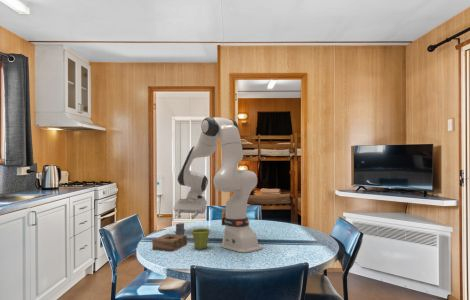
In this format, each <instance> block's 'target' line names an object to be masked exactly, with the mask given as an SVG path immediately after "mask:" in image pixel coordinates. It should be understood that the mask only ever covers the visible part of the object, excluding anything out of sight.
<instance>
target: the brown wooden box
mask: <svg viewBox="0 0 470 300" xmlns="http://www.w3.org/2000/svg"><path fill="white" fill-rule="evenodd" d="M186 245H188V236H187V235H186V234H184V235H176V233H166V234H164V235H161V236H159V237H156V238H154V239H152V248H151V249H152V250H156V251H165V252H175V251H177V250H179V249H180V248H183V247H184V246H186Z"/></svg>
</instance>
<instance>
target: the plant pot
mask: <svg viewBox="0 0 470 300" xmlns="http://www.w3.org/2000/svg"><path fill="white" fill-rule="evenodd" d="M210 231H211V230H210V229H209V228H196V229H195V228H194V229H191V234H192V237H193V242H194V243H193V244H194V248H195V249H199V250H205V249H206V248H207V247H208V241H209V234H210Z"/></svg>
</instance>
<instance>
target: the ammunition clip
mask: <svg viewBox="0 0 470 300" xmlns="http://www.w3.org/2000/svg"><path fill="white" fill-rule="evenodd" d="M225 217H226V206H225V207H222V210H221V225H222V226H226V225H225Z"/></svg>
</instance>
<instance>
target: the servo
mask: <svg viewBox="0 0 470 300" xmlns="http://www.w3.org/2000/svg"><path fill="white" fill-rule="evenodd" d="M185 231H186V229H185V223H184V222H177V223H176V224H175V231H174V234H176V235H185Z"/></svg>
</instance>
